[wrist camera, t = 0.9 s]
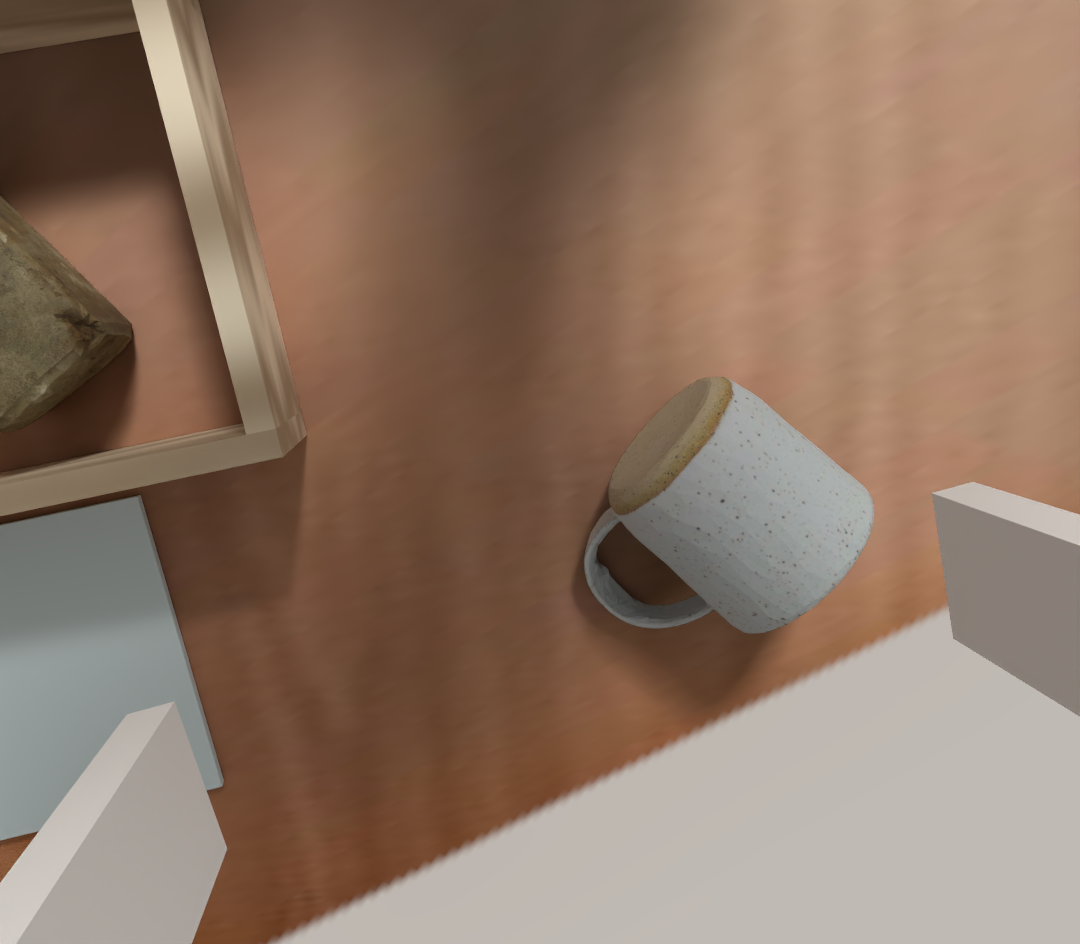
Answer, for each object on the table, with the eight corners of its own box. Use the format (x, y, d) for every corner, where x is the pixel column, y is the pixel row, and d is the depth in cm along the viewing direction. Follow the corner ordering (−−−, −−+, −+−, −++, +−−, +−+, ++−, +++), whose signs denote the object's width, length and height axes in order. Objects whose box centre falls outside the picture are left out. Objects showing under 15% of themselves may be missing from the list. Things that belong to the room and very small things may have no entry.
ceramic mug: (688, 356, 37) (752, 367, 29) (822, 472, 39) (915, 511, 31) (533, 546, 38) (556, 604, 30) (671, 652, 39) (726, 732, 32)
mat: (-197, 565, 34) (-205, 568, 33) (140, 494, 35) (137, 496, 34) (-88, 857, 36) (-94, 863, 36) (224, 781, 37) (222, 786, 37)
